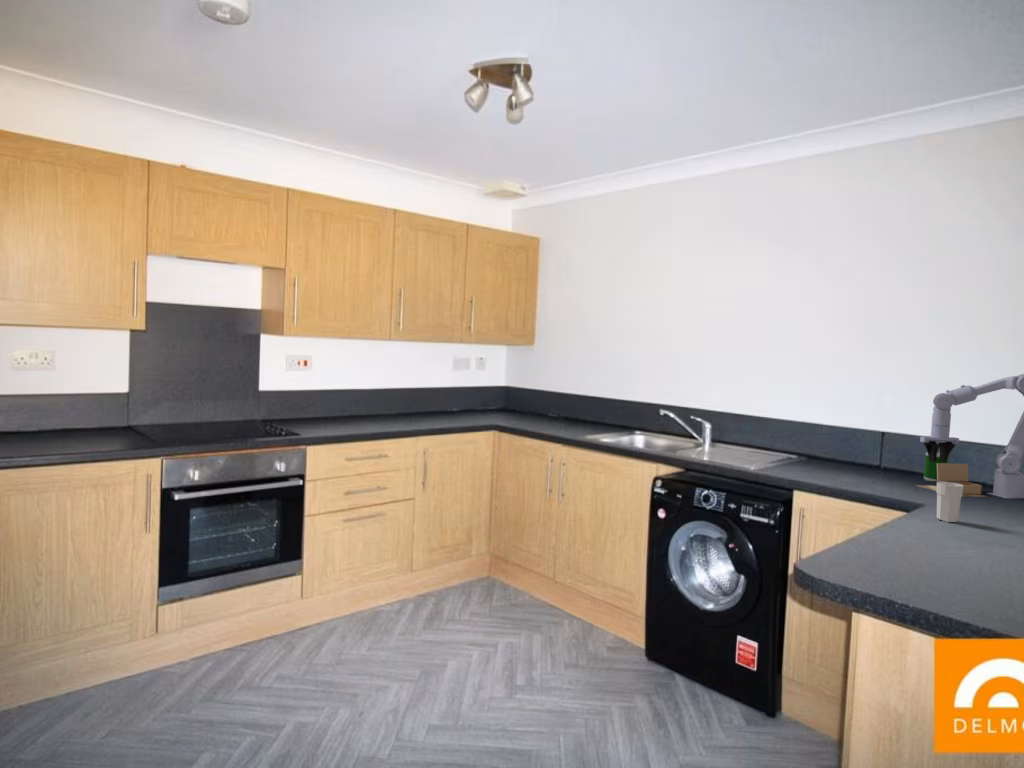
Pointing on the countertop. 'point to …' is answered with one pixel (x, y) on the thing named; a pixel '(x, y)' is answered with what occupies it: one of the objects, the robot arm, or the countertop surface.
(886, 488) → the countertop surface
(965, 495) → the board
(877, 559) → the countertop surface
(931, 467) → the soda can
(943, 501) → the cup
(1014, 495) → the robot arm
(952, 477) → the lid flap
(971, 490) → the parcel box
